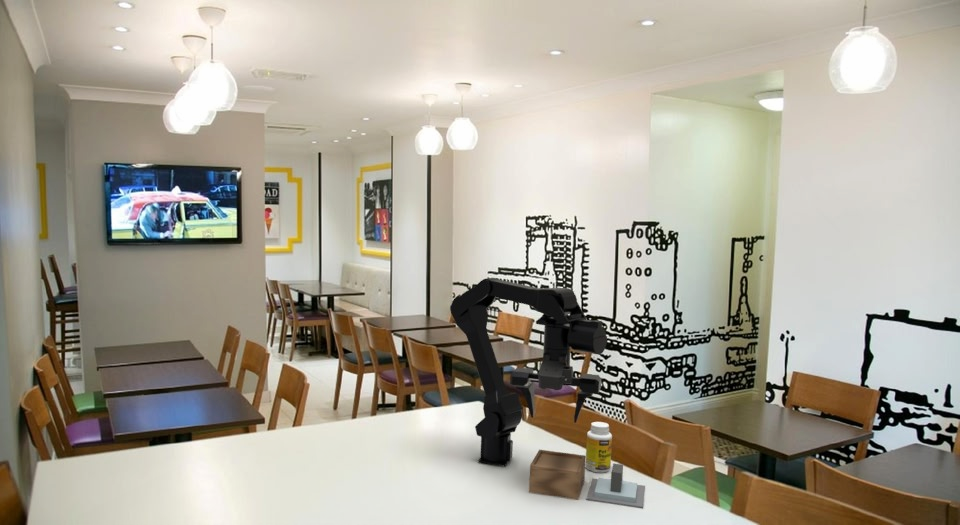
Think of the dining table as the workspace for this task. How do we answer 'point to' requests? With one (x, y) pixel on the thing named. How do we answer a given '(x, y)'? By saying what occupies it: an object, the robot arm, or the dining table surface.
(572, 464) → the walnut box
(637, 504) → the mat
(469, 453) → the dining table surface
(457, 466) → the dining table surface
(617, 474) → the lid
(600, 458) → the supplement bottle
